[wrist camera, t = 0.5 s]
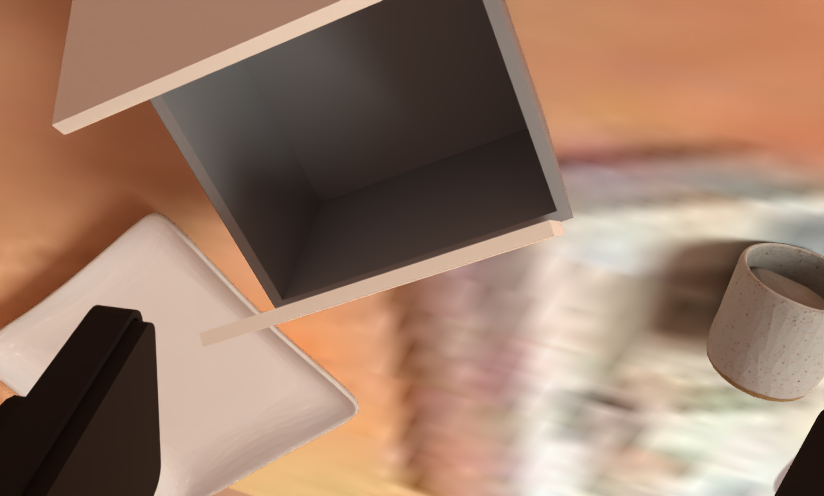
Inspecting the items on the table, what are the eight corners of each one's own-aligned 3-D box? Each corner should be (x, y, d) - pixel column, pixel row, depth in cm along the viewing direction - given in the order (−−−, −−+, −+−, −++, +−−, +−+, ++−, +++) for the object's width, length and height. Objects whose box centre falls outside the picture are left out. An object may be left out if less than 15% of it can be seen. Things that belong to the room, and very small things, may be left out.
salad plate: (188, 489, 64) (175, 521, 61) (-10, 331, 56) (-37, 359, 53) (372, 383, 56) (366, 414, 53) (172, 184, 49) (153, 207, 46)
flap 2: (549, 220, 26) (554, 235, 26) (560, 221, 34) (564, 233, 34) (199, 333, 30) (203, 347, 29) (283, 310, 37) (286, 321, 37)
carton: (441, -186, 37) (432, -192, 26) (547, 127, 45) (573, 217, 34) (176, -59, 41) (77, -20, 30) (317, 209, 49) (277, 312, 38)
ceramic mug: (687, 333, 52) (722, 408, 45) (724, 234, 48) (769, 300, 41) (832, 350, 52) (888, 427, 45) (882, 253, 48) (952, 322, 41)
